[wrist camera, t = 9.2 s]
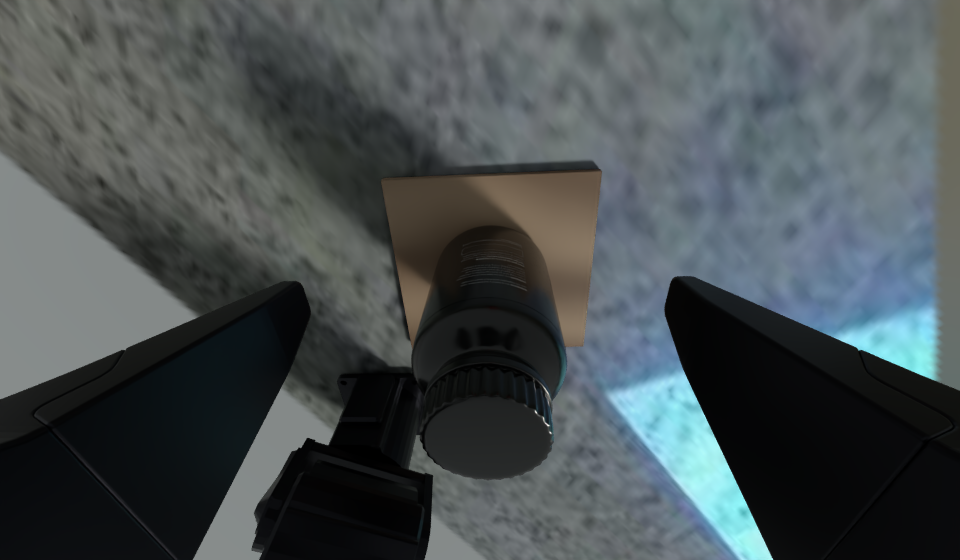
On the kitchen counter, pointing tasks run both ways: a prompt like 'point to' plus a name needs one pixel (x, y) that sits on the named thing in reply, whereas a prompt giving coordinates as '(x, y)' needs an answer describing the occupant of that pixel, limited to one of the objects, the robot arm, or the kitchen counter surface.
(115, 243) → the kitchen counter surface
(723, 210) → the kitchen counter surface
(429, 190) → the tan board
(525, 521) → the kitchen counter surface
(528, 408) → the supplement bottle
